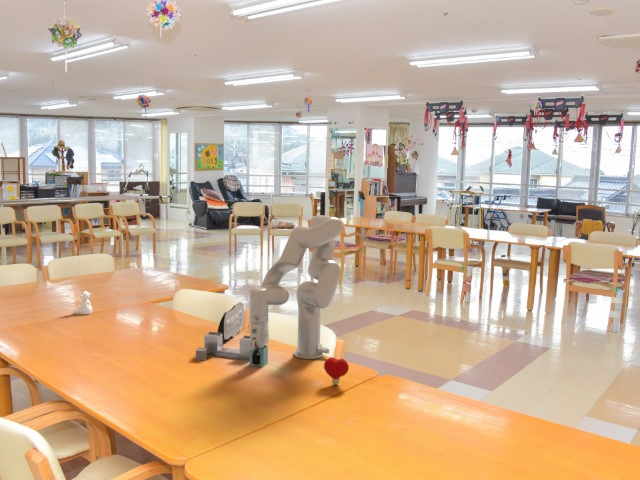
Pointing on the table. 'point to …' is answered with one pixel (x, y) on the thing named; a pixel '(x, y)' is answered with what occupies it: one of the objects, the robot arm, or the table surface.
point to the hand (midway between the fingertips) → (258, 361)
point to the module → (263, 356)
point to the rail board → (215, 348)
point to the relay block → (201, 354)
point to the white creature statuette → (84, 304)
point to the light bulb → (336, 369)
